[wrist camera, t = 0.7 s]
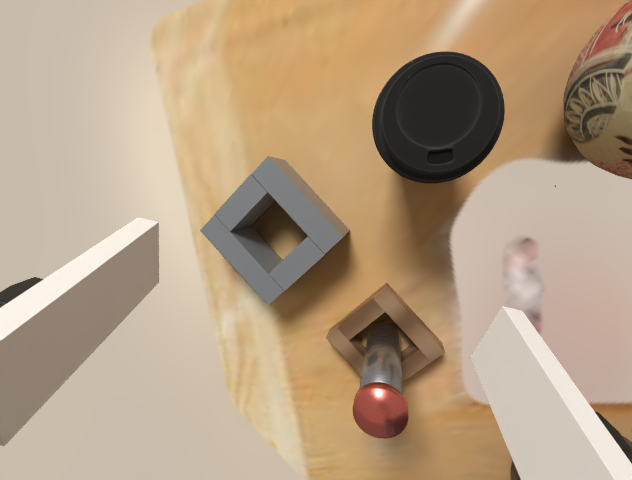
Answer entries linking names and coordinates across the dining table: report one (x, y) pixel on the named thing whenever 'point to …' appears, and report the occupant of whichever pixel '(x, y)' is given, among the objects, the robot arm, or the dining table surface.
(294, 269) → the block
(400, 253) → the dining table surface
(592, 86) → the ceramic jug
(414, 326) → the mount collar
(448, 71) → the coffee cup
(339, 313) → the dining table surface
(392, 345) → the lock pin
